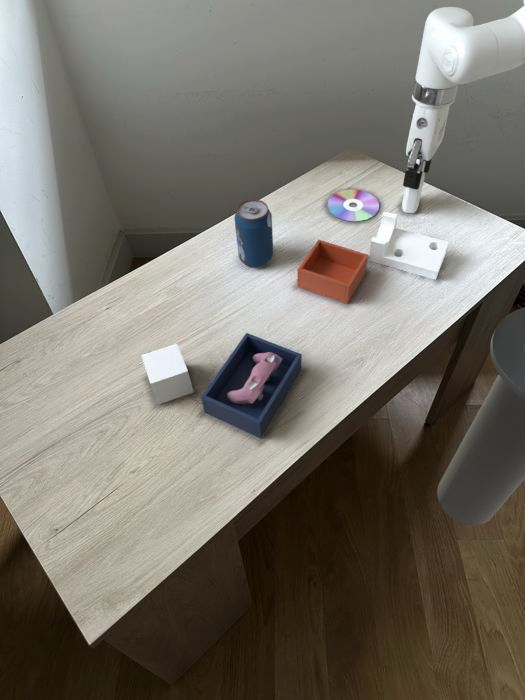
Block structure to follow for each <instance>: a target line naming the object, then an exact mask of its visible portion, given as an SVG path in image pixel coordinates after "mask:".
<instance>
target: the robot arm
mask: <svg viewBox="0 0 525 700" xmlns="http://www.w3.org/2000/svg"><path fill="white" fill-rule="evenodd" d="M522 2H523V6H522V7H520V8H519V9H518V10H516V11H515V12H514V13H512V14H511V15H509V16H507V17H504V18H500V19H496V20H493V21H488V22H485V23H482V24H478V25H474V17H473V15H472V13H471V12H470V11H469V10H468V9H465V8H461V7H457V6H444V7H437V8H436V9H434V10H432V11H430V13H429V14H428V16H427V18H426V20H425V23H424V28H423V34H422V39H421V44H420V51H419V55H418V56H419V57H418V62H417V67H416V73H415V76H414V84H413V89H412V95H411V99H412V101H413V103H415V107H414V110H413V114H412V119H411V123H410V128H409V132H408V137H407V142H406V148H405V155H406V156H407V157H408V161H407V164H406V167H405V171H404V176H403V182H402V187H404V188H405V187H408V188H412V189H416V190H417V189H418V188H419V186H420V181H421V177H422V172H423V171H421V169H422V166H423V162H424V161H425V167H424V173H429V171H430V167H431V163H432V159H433V157H434V156H435V154H436V153H437V151H438V149H439V147H440V145H441V144H442V142H443V139H444V136H445V132H446V127H447V122H448V117H449V112H450V107H451V105H453V104H454V103H455V101H456V97H457V92H458V88H459V85H465V84H469V83H472V82H476V81H479V80H482V79H485V78H488V77H491V76H495V75H498V74H501V73H505V72H508V71H512V70H513V69H516V68H518V67H520V66H522V65H524V64H525V0H522ZM417 159H419V160H420V163H419V165H418V164H417V162H416V161H417Z"/></svg>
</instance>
